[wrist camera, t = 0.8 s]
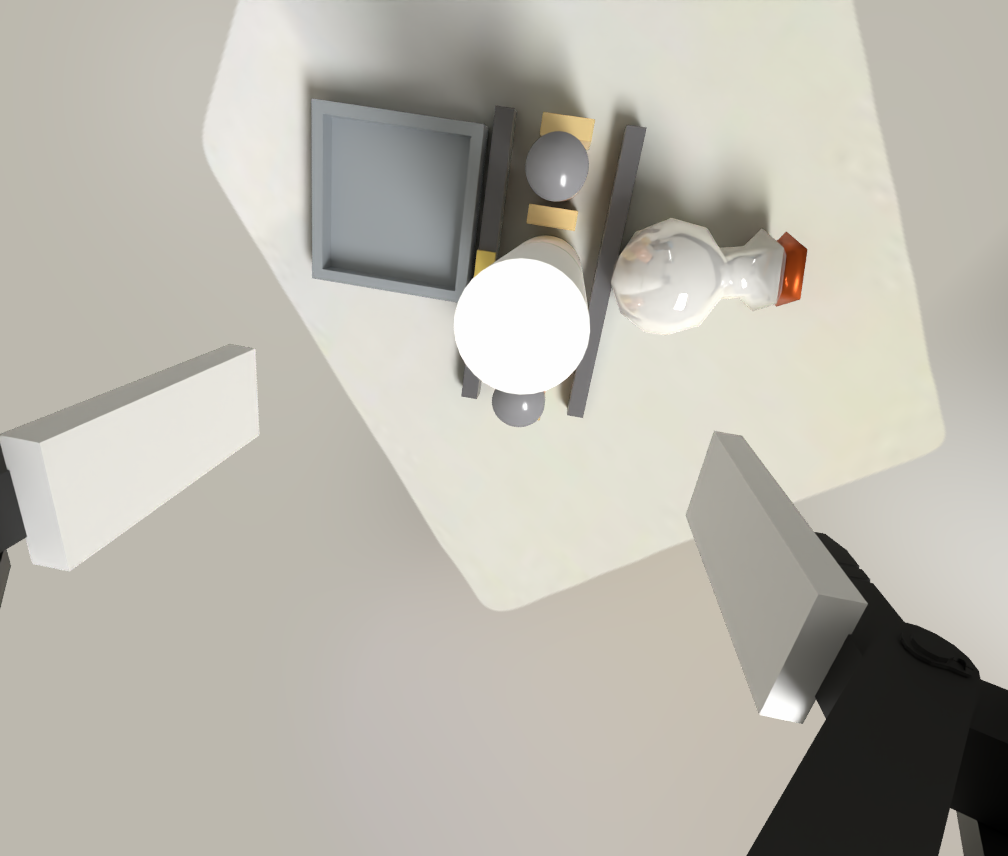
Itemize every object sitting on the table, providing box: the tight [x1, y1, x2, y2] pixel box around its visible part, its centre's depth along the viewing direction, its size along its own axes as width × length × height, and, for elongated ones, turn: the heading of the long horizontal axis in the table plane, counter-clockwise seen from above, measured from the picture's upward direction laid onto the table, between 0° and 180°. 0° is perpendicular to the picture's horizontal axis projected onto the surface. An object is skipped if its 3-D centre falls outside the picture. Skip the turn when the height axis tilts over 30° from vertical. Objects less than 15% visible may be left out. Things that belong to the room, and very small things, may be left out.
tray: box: [312, 99, 489, 303], centre depth 48 cm, size 15×15×2 cm
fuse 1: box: [492, 389, 545, 427], centre depth 48 cm, size 4×4×13 cm
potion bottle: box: [611, 218, 807, 335], centre depth 45 cm, size 9×10×15 cm
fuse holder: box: [462, 106, 646, 420], centre depth 47 cm, size 26×13×6 cm, turn 172°
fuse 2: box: [526, 131, 589, 202], centre depth 41 cm, size 4×4×13 cm
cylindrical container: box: [454, 235, 590, 395], centre depth 39 cm, size 7×7×25 cm
